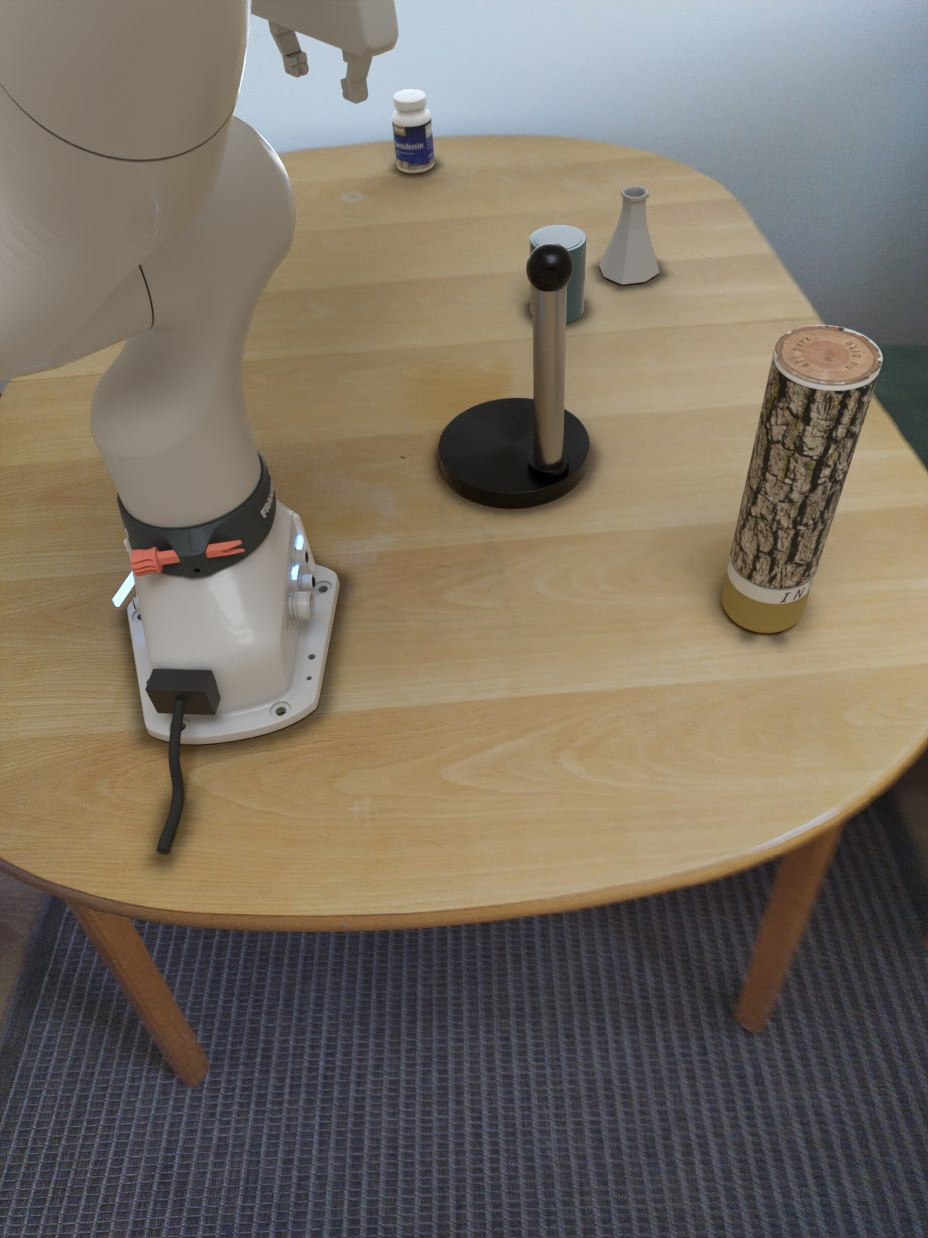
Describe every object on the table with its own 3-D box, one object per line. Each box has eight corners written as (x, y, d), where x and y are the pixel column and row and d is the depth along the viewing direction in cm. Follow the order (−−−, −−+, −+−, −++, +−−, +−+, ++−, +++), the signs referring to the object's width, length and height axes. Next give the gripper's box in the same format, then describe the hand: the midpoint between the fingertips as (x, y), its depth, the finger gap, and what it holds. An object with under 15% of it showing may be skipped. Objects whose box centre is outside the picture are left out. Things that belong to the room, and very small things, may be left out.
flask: (589, 265, 119) (592, 186, 112) (638, 250, 121) (644, 171, 113) (619, 291, 115) (624, 211, 107) (669, 275, 116) (678, 195, 109)
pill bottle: (392, 173, 140) (384, 102, 132) (402, 157, 144) (395, 86, 136) (429, 175, 139) (423, 103, 131) (439, 158, 143) (433, 87, 135)
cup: (589, 320, 111) (592, 247, 104) (535, 328, 111) (535, 255, 104) (577, 292, 115) (579, 220, 108) (525, 299, 115) (524, 227, 108)
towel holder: (410, 458, 96) (379, 227, 78) (518, 395, 102) (513, 166, 84) (508, 531, 89) (500, 293, 70) (619, 458, 94) (638, 221, 76)
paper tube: (709, 621, 80) (761, 369, 61) (733, 568, 84) (790, 316, 65) (790, 647, 77) (870, 394, 59) (811, 592, 81) (893, 337, 62)
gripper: (406, -88, 72) (423, 105, 82) (263, -123, 83) (294, 51, 93) (339, -69, 69) (365, 128, 80) (200, -108, 80) (239, 70, 91)
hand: (326, 86), depth 87 cm, fingers open, 8 cm apart
